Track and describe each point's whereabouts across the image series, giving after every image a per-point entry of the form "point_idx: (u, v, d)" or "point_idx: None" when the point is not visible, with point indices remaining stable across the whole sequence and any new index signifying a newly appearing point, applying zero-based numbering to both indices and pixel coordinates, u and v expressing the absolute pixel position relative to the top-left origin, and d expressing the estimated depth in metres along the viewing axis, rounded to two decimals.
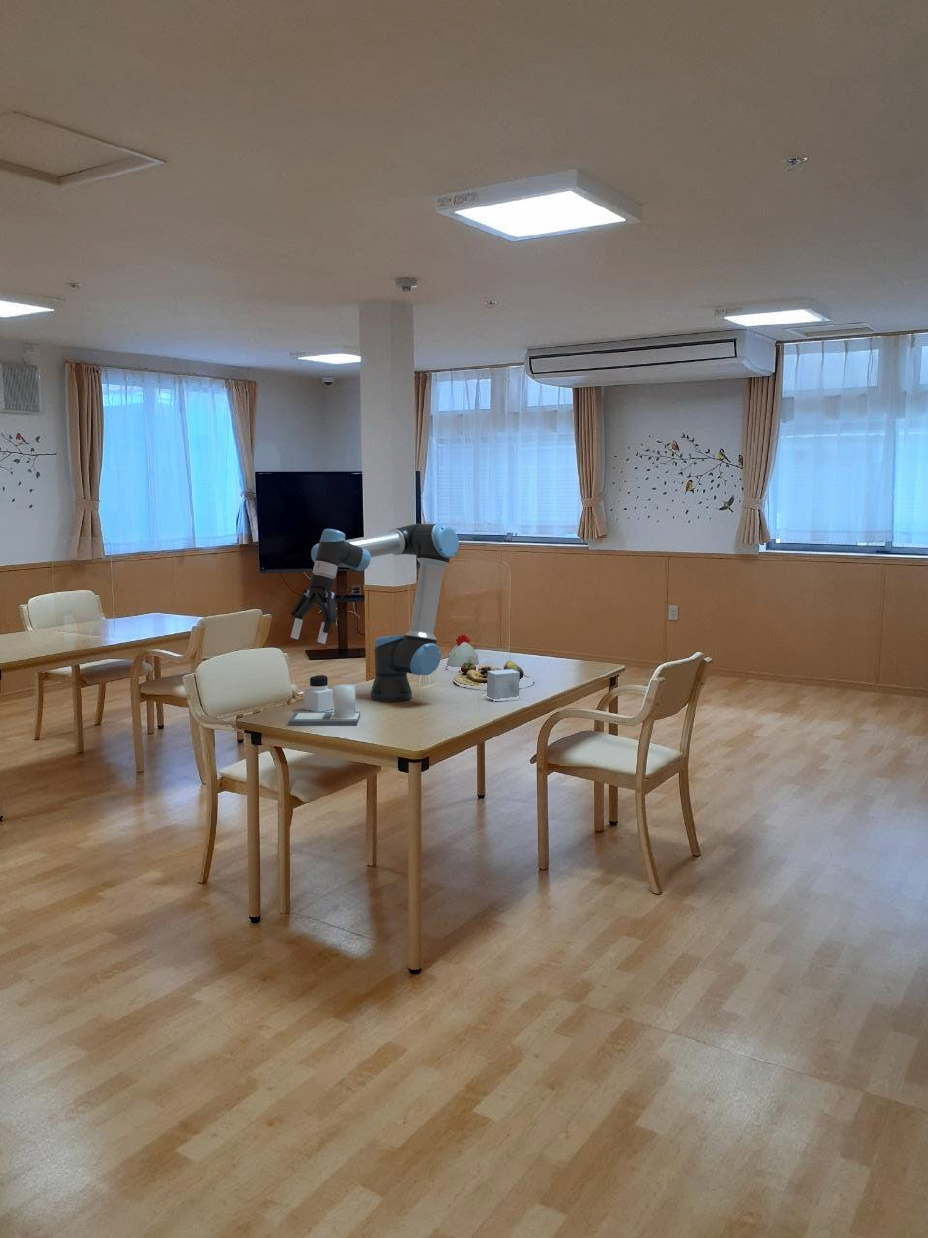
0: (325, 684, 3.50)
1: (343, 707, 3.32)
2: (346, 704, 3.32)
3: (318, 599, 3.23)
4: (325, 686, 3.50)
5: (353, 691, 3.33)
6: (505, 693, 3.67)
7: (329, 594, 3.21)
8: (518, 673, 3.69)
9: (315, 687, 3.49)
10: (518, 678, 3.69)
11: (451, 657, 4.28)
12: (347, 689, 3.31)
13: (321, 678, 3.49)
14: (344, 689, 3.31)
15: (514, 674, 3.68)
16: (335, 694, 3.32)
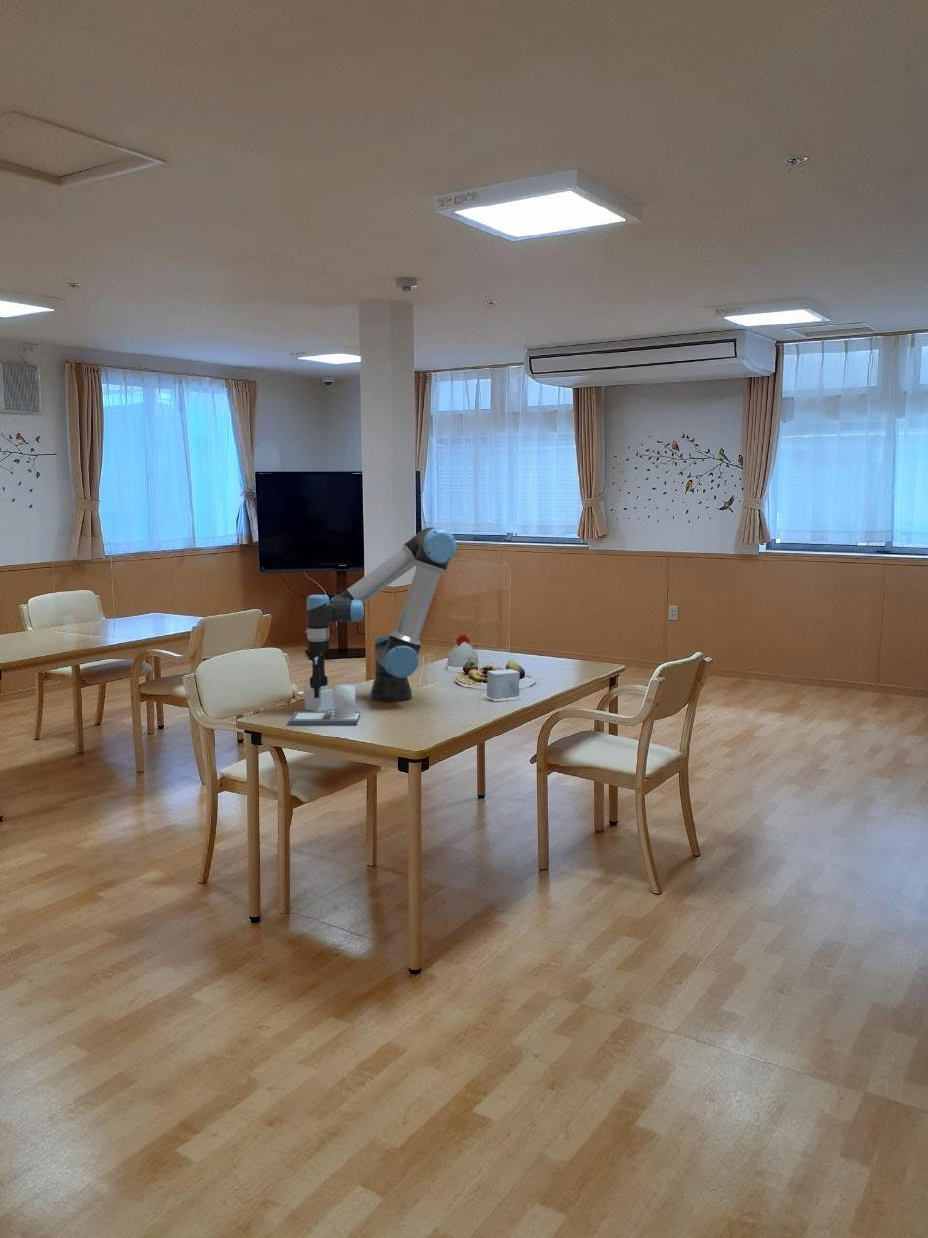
0: (325, 684, 3.50)
1: (343, 706, 3.32)
2: (346, 704, 3.32)
3: (312, 664, 3.48)
4: (325, 686, 3.50)
5: (353, 691, 3.33)
6: (505, 693, 3.67)
7: None
8: (518, 673, 3.69)
9: None
10: (518, 678, 3.69)
11: (451, 657, 4.28)
12: (347, 689, 3.31)
13: (321, 678, 3.49)
14: (344, 689, 3.31)
15: (514, 674, 3.68)
16: (335, 694, 3.33)
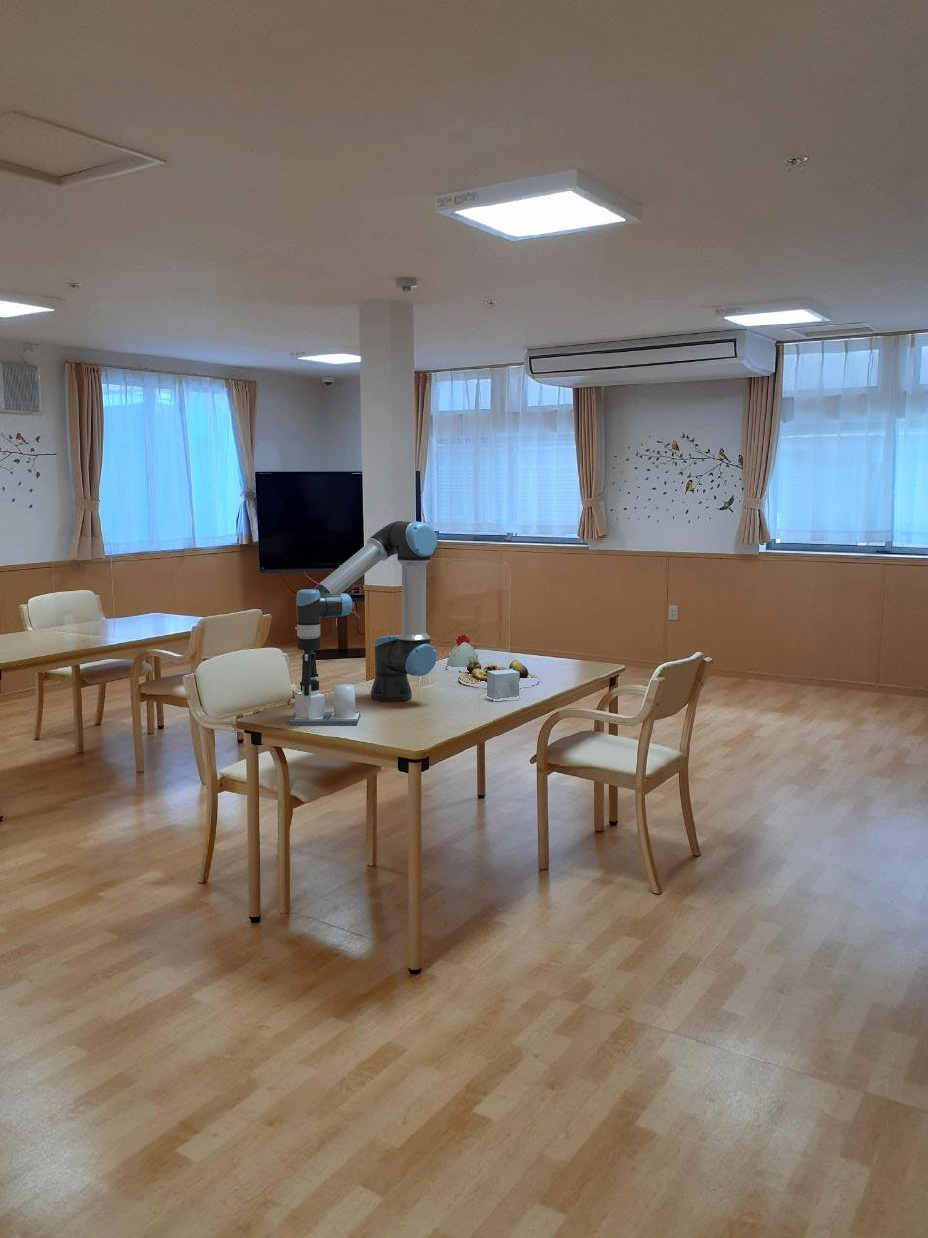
0: (316, 689, 3.33)
1: (342, 707, 3.32)
2: (345, 704, 3.32)
3: None
4: (316, 691, 3.33)
5: (352, 691, 3.33)
6: (505, 693, 3.67)
7: (302, 657, 3.26)
8: (518, 673, 3.69)
9: None
10: (518, 678, 3.69)
11: (451, 657, 4.28)
12: (346, 689, 3.31)
13: (312, 682, 3.32)
14: (343, 689, 3.31)
15: (514, 674, 3.68)
16: (335, 694, 3.33)
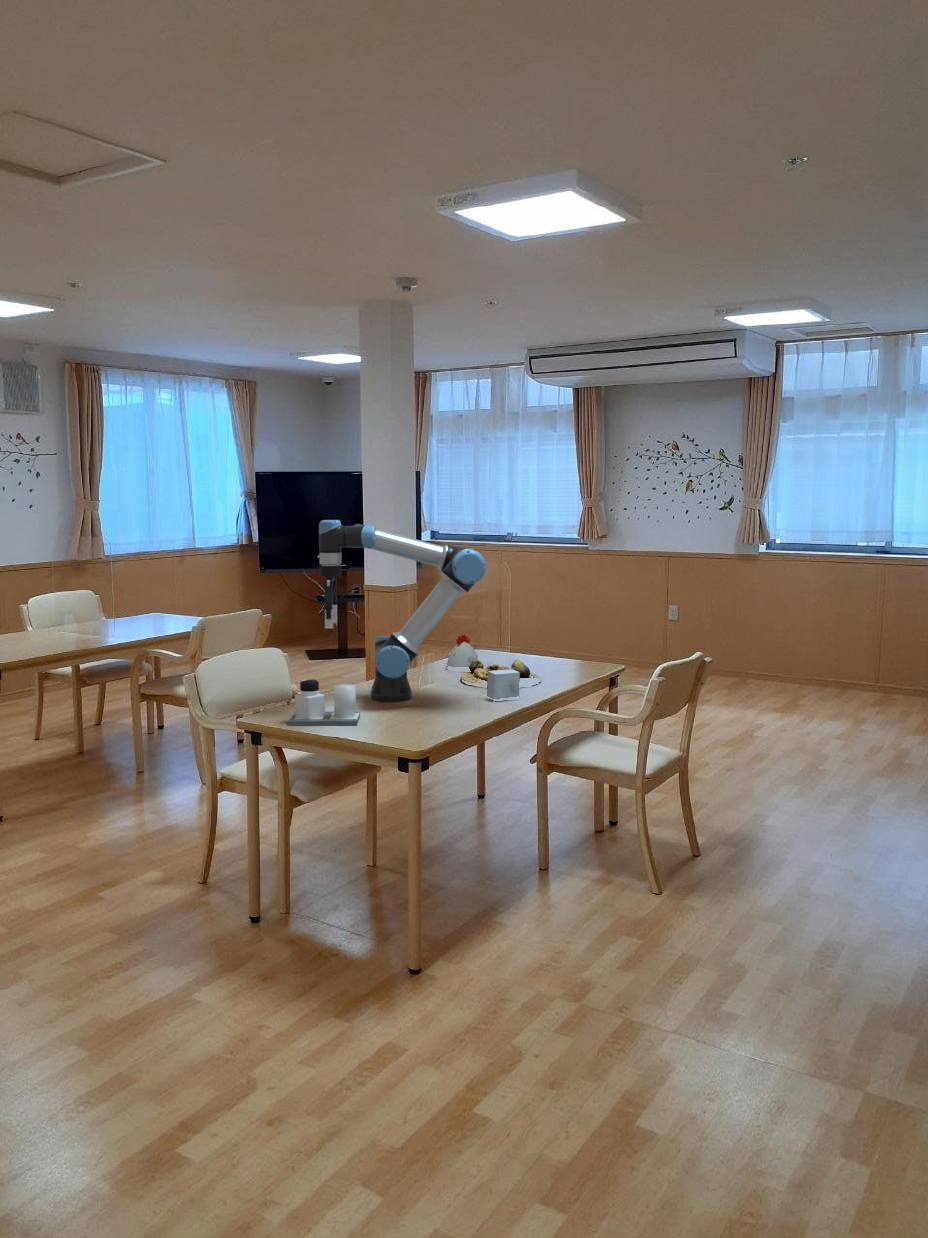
0: (316, 689, 3.33)
1: (342, 706, 3.32)
2: (345, 704, 3.32)
3: None
4: (316, 691, 3.33)
5: (353, 691, 3.33)
6: (505, 693, 3.67)
7: (325, 583, 3.45)
8: (518, 673, 3.69)
9: (305, 692, 3.32)
10: (518, 678, 3.69)
11: (451, 657, 4.28)
12: (346, 689, 3.31)
13: (312, 683, 3.32)
14: (343, 689, 3.31)
15: (514, 674, 3.68)
16: (335, 694, 3.33)
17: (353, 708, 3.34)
